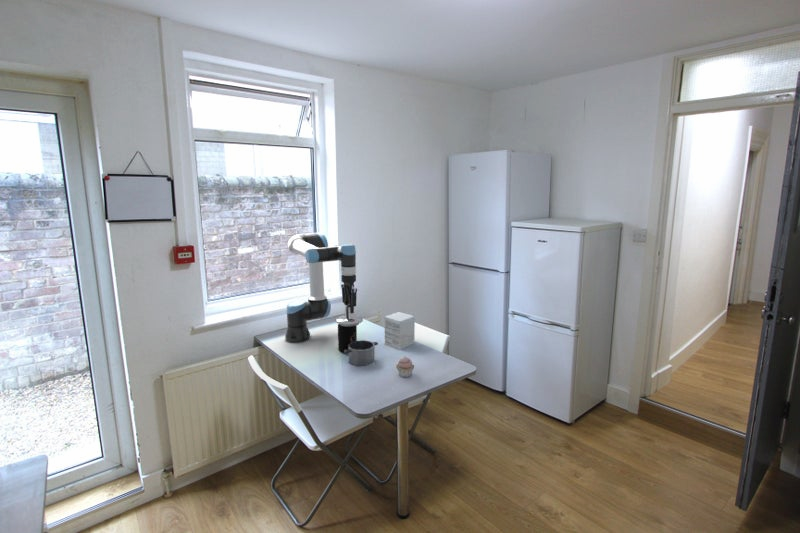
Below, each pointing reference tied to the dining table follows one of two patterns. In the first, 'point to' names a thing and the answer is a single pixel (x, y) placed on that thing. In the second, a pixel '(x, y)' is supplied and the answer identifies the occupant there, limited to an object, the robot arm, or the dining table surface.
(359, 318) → the lid
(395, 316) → the supplement box
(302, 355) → the dining table surface
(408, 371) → the cupcake
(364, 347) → the pot
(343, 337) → the coffee jar
